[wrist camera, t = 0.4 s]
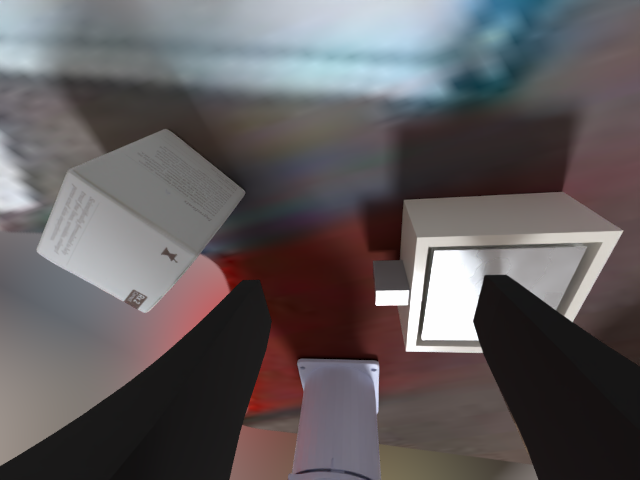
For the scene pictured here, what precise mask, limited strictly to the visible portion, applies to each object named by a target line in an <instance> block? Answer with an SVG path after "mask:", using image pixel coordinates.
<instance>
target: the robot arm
mask: <svg viewBox="0 0 640 480" xmlns="http://www.w3.org/2000/svg"><path fill="white" fill-rule="evenodd" d="M271 322H272V321H271V317H270V314H269V310H268V307H267V304H266V300H265V297H264V293H263V290H262V286H261V283H260V280H243V281H242V282H240V283H239V284H238V285H237V286H236V287H235V288H234V289H233V290H232V291H231V292H230V293H229V294H228V295H227V296H226V297H225V298H224V299H223V300H222V301H221V302H220V303H219V304H218V305H217V306H216V307H215V308H214V309H213V310H212V311H211V312H210V313H209V314H208V315H207V316H206V317H205V318H204V319H203V320H202V321H200V322H199V323H198V324H197V325H196V326H195V327H194V328H193V329H192V330H191V331H190V332H189V333H187V334H186V335H185V336H184V337H183V338H182V339H181V340H180V341H179V342H177V343H176V344H175V345H174V346H173V347H172V348H171V349H169V350H168V351H167V352H166V353H165V354H164V355H162V356H161V357H160V358H159V359H158V360H156V361H155V362H154V363H153V364H152V365H150V366H149V367H148V368H146V369H145V370H144V371H143V372H141V373H140V374H139V375H137V376H136V377H135V378H134V379H132V380H131V381H130V382H128V383H127V384H126V385H125V386H123V387H122V388H120V389H119V390H117V391H116V392H114V393H113V394H112V395H110V396H109V397H107V398H106V399H104V400H103V401H102V402H100V403H99V404H97V405H96V406H94V407H93V408H92V409H90V410H89V411H87V412H86V413H84V414H83V415H82V416H80V417H79V418H77V419H75V420H74V421H72V422H71V423H69V424H68V425H66V426H65V427H63V428H62V429H60V430H59V431H57V432H56V433H54V434H52V435H51V436H49V437H48V438H46V439H44V440H43V441H41V442H39V443H38V444H36V445H35V446H33V447H31V448H30V449H28V450H27V451H25V452H23V453H22V454H20V455H18V456H17V457H15V458H13V459H12V460H10V461H8V462H7V463H5V464H3V465H1V466H0V480H229V479H230V474H231V469H232V465H233V460H234V456H235V451H236V448H237V443H238V439H239V435H240V430H241V427H242V424H243V420H244V417H245V413H246V410H247V407H248V404H249V401H250V398H251V395H252V392H253V389H254V386H255V383H256V380H257V377H258V374H259V371H260V368H261V364H262V361H263V358H264V355H265V352H266V348H267V343H268V338H269V333H270V328H271ZM473 324H474V327H475V330H476V333H477V337H478V340H479V343H480V346H481V349H482V352H483V354H484V356H485V358H486V361H487V363H488V365H489V367H490V369H491V371H492V374H493V376H494V378H495V380H496V382H497V384H498V386H499V388H500V391H501V393H502V395H503V397H504V399H505V401H506V403H507V405H508V408H509V410H510V412H511V414H512V416H513V418H514V420H515V422H516V424H517V427H518V429H519V431H520V433H521V436H522V438H523V440H524V443H525V445H526V447H527V450H528V452H529V455H530V458H531V461H532V463H533V466H534V469H535V471H536V474H537V477H538V480H640V367H639V366H638V365H636V364H634V363H633V362H631V361H630V360H628V359H627V358H625V357H624V356H622V355H621V354H619V353H618V352H616V351H614V350H613V349H611V348H610V347H608V346H607V345H605V344H604V343H602V342H601V341H599V340H598V339H596V338H595V337H593V336H592V335H590V334H589V333H587V332H586V331H585V330H583V329H582V328H580V327H579V326H577V325H576V324H575V323H573V322H572V321H570V320H569V319H567V318H566V317H565V316H563V315H562V314H560V313H559V312H558V311H556V310H555V309H553V308H552V307H551V306H549V305H548V304H547V303H545V302H544V301H543V300H541V299H540V298H538V297H537V296H536V295H534V294H533V293H532V292H530V291H529V290H527V289H526V288H525V287H523V286H522V285H521V284H519V283H518V282H516V281H515V280H514V279H512V278H511V277H509V276H508V275H485V276H484V280H483V284H482V287H481V291H480V295H479V299H478V303H477V307H476V311H475V315H474V319H473ZM297 365H298V370H299V374H300V378H301V382H302V386H303V390H304V394H303V401H302V408H301V415H300V422H299V429H298V436H297V443H296V450H295V457H294V463H293V471H292V474H289V475H288V480H381V472H380V457H379V442H378V427H377V413H378V401H379V363H378V362H377V361H375V360H339V359H299V360H298V362H297Z"/></svg>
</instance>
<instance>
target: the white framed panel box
mask: <svg viewBox="0 0 640 480" xmlns="http://www.w3.org/2000/svg"><path fill="white" fill-rule="evenodd" d="M622 232H623V230H621V229H620V228H618V227H617V226H615V225H613V224H612V223H610V222H609V221H607V220H606V219H604V218H603V217H601V216H599V215H598V214H596V213H595V212H593V211H592V210H590V209H589V208H587V207H586V206H584V205H582V204H581V203H579V202H578V201H576V200H575V199H573V198H572V197H570V196H568V195H567V194H565V193H564V192H549V193H530V194H510V195H490V196H471V197H451V198H431V199H412V200H404V202H403V218H402V234H401V250H400V260H391V261H373V279H374V290H375V300H376V305H398V311H399V316H400V322H401V327H402V333H403V338H404V344H405V349H406V351H417V352H467V353H483V352H482V349H481V346H480V343H479V340H422V338H421V334H420V329H421V321H422V314H423V306H424V299H425V291H426V284H427V277H428V269H429V262H430V254H431V247H447V246H482V245H518V244H553V243H583V244H584V245H586V246H587V248H586V250H585V253H584V255H583V257H582V259H581V261H580V263H579V265H578V267H577V269H576V271H575V273H574V275H573V277H572V279H571V281H570V283H569V285H568V287H567V289H566V291H565V293H564V295H563V297H562V299H561V301H560V303H559V305H558V307H557V309H556V311H558V312H559V313H560V314H562V315H563V316H565V317H566V318H567V319H569V320H570V321H572V322H573V320H574V319H575V317H576V315H577V313H578V311H579V310H580V308H581V306H582V304H583V302H584V301H585V299H586V297H587V295H588V293H589V292H590V290H591V288H592V286H593V284H594V283H595V281H596V279H597V277H598V275H599V274H600V272H601V270H602V268H603V266H604V265H605V263H606V261H607V259H608V257H609V256H610V254H611V252H612V250H613V248H614V247H615V245H616V243H617V241H618V239H619V238H620V236H621V234H622Z"/></svg>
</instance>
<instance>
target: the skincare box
mask: <svg viewBox="0 0 640 480" xmlns="http://www.w3.org/2000/svg"><path fill="white" fill-rule="evenodd" d="M244 195H245V191H244V190H243V189H242V188H241V187H239V186H238V185H237V184H236V183H235V182H233V181H232V180H231V179H230V178H228V177H227V176H226V175H225V174H223V173H222V172H221V171H220V170H218V169H217V168H216V167H215V166H213V165H212V164H211V163H210V162H209V161H207V160H206V159H205V158H204V157H202V156H201V155H200V154H199V153H197V152H196V151H195V150H194V149H192V148H191V147H190V146H189V145H188V144H186V143H185V142H184V141H183V140H181V139H180V138H179V137H177V136H176V135H175V134H174V133H172V132H171V131H169V130H168V129H163V130H161V131H159V132H156V133H154V134H152V135H149V136H147V137H144V138H142V139H140V140H137V141H135V142H133V143H130V144H128V145H125V146H123V147H121V148H119V149H116V150H114V151H111V152H109V153H107V154H104V155H102V156H100V157H97V158H95V159H92V160H90V161H88V162H86V163H83V164H81V165H79V166H76V167H73V168H71V169H69V170H68V171H67V173H66V176H65V179H64V181H63V183H62V186H61V188H60V191H59V194H58V196H57V199H56V201H55V204H54V206H53V209H52V211H51V214H50V216H49V219H48V222H47V224H46V227H45V229H44V232H43V234H42V237H41V239H40V242H39V245H38V247H37V252H38V253H39V254H40V255H42V256H43V257H45V258H46V259H48V260H49V261H51V262H53V263H54V264H56V265H58V266H60V267H61V268H63V269H65V270H67V271H69V272H71V273H72V274H74V275H76V276H78V277H80V278H82V279H84V280H85V281H87V282H89V283H91V284H93V285H95V286H97V287H98V288H100V289H102V290H104V291H105V292H107V293H109V294H111V295H113V296H115V297H116V298H118V299H120V300H122V301H123V302H125V303H127V304H129V305H131V306H132V307H134V308H136V309H137V310H139V311H141V312H143V313H146V312H149V311H150V310H151V309H152V308H153V307H154V306H155V305H156V304H157V303H158V302H159V300H161V299H162V298H163V296H164V295H165V294H166V293H167V292H168V291H169V290H170V289H171V288H172V287H173V286H174V284H175V283H176V282H177V281H178V280H179V279H180V278H181V276H182V275H183V274H184V273H185V272H186V270H187V269H188V268H189V267H190V266H191V265H192V263H193V262H194V261H195V260H196V258H197V257H198V256H199V254H200V253H201V252H202V250H203V249H204V248H205V247H206V245H207V244H208V243H209V241H210V240H211V239H212V238H213V236H214V235H215V234H216V233H217V231H218V230H219V229H220V227H221V226H222V225H223V224H224V222H225V221H226V220H227V218H228V217H229V216H230V214H231V213H232V212H233V210H234V209H235V207H236V206H237V205H238V203H239V202H240V201H241V199H242V198H243V197H244Z"/></svg>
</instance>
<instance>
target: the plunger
mask: <svg viewBox="0 0 640 480" xmlns="http://www.w3.org/2000/svg"><path fill="white" fill-rule="evenodd" d="M586 248H587V246H586V245H584V244H583V243H553V244H518V245H482V246H447V247H431V254H430V262H429V269H428V277H427V284H426V291H425V299H424V306H423V314H422V321H421V329H420V334H421V338H422V340H478V337H477V333H476V330H475V327H474V324H473V319H474V315H475V311H476V307H477V303H478V299H479V295H480V291H481V287H482V284H483V280H484V276H485V275H508V276H509V277H511V278H512V279H514V280H515V281H516V282H518V283H519V284H521V285H522V286H523V287H525V288H526V289H527V290H529V291H530V292H532V293H533V294H534V295H536V296H537V297H538V298H540V299H541V300H543V301H544V302H545V303H547V304H548V305H549V306H551V307H552V308H553V309H555V310H556V309H557V307H558V305H559V303H560V301H561V299H562V297H563V295H564V293H565V291H566V289H567V287H568V285H569V283H570V281H571V279H572V277H573V275H574V273H575V271H576V269H577V267H578V265H579V263H580V261H581V259H582V257H583V255H584V253H585V250H586ZM500 392H501V391H500ZM501 394H502V393H501ZM502 396H503V395H502ZM503 398H504V397H503ZM504 401H505V399H504ZM505 403H506V401H505ZM506 405H507V403H506ZM507 408H508V405H507ZM508 410H509V408H508ZM509 412H510V410H509ZM510 414H511V412H510ZM511 417H512V419H513V421H514V423H515V426H516V428H517V430H518V432H519V435H520V437H521V439H522V441H523V444H524V446H525V448H526V451H527V453H528V455H529V452H528V450H527V447H526V445H525V443H524V440H523V438H522V436H521V433H520V431H519V429H518V427H517V424H516V422H515V420H514V418H513V416H512V414H511ZM529 456H530V455H529Z"/></svg>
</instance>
